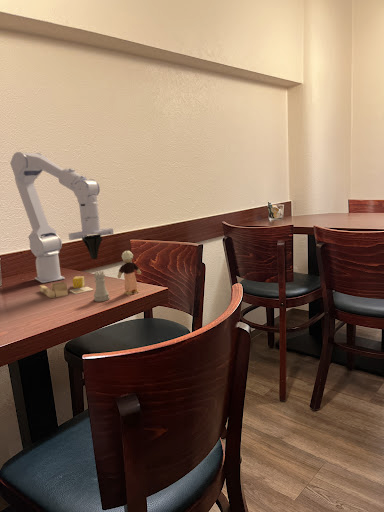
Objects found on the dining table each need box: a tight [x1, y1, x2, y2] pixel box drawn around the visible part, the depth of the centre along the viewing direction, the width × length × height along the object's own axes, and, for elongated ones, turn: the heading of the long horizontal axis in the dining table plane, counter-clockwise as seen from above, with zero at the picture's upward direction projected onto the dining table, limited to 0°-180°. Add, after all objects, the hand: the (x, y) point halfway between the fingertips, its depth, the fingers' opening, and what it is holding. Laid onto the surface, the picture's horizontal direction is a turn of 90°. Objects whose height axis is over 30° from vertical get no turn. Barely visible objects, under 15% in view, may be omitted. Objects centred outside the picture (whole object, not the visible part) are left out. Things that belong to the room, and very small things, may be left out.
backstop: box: [39, 284, 56, 299], centre depth 123 cm, size 12×1×2 cm, turn 36°
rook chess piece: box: [93, 270, 111, 303], centre depth 113 cm, size 4×4×8 cm
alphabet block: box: [72, 275, 86, 289], centre depth 131 cm, size 3×3×3 cm
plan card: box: [69, 286, 94, 295], centre depth 125 cm, size 5×6×1 cm
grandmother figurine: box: [117, 250, 142, 296], centre depth 118 cm, size 8×4×13 cm, turn 142°
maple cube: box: [50, 281, 69, 298], centre depth 121 cm, size 4×4×4 cm
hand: (94, 258), depth 133 cm, fingers closed
